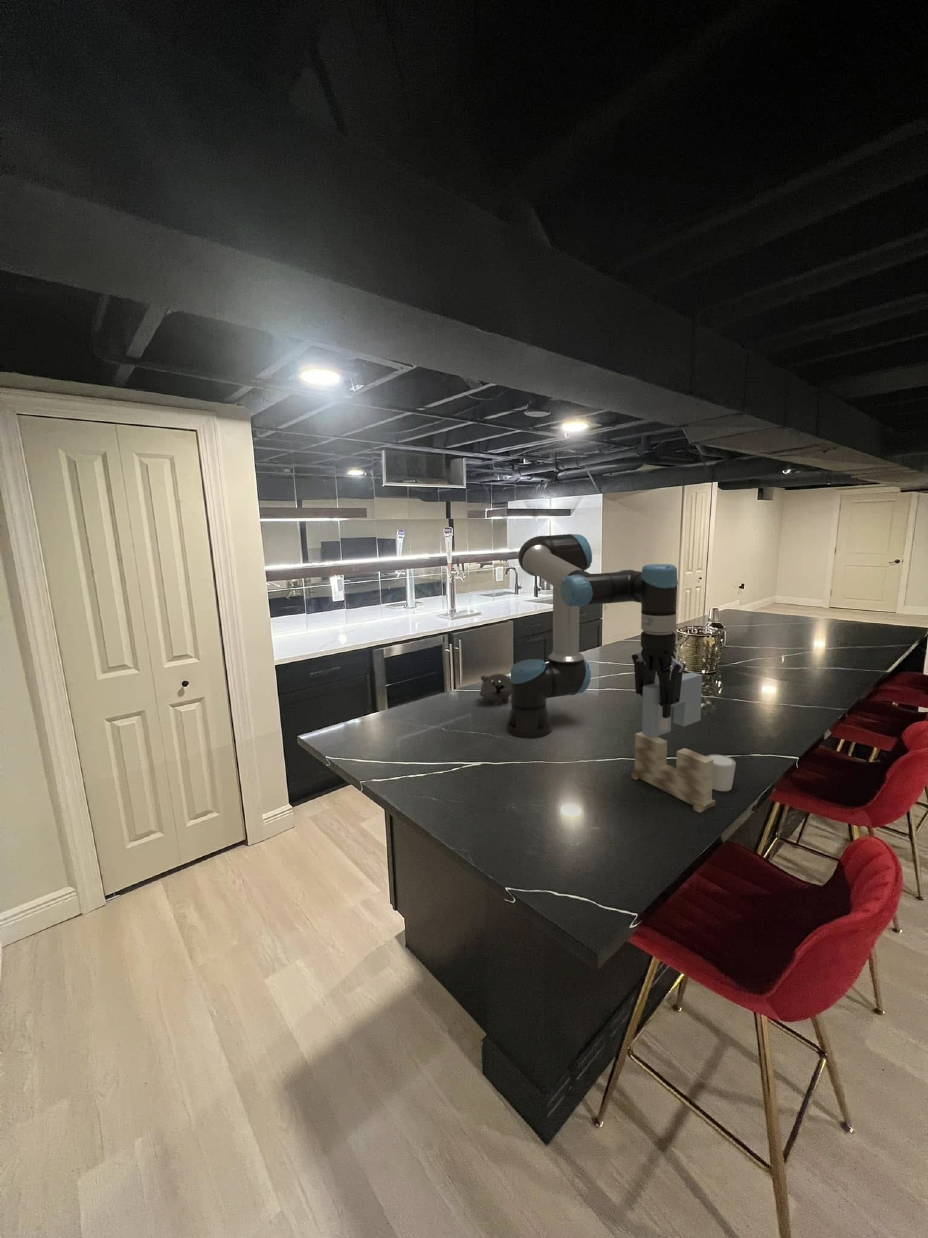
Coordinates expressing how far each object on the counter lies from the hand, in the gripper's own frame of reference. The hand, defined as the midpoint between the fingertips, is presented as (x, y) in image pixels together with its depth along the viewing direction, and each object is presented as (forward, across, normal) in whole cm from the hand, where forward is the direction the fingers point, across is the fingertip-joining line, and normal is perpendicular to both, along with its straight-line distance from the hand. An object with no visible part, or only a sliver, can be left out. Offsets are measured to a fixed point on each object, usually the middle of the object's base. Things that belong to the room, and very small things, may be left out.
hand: (656, 726), depth 115 cm
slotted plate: (+2, 0, +6) cm, 6 cm away
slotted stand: (+19, 0, +6) cm, 19 cm away
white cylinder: (+19, +6, +18) cm, 26 cm away
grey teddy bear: (+19, -80, +7) cm, 82 cm away
